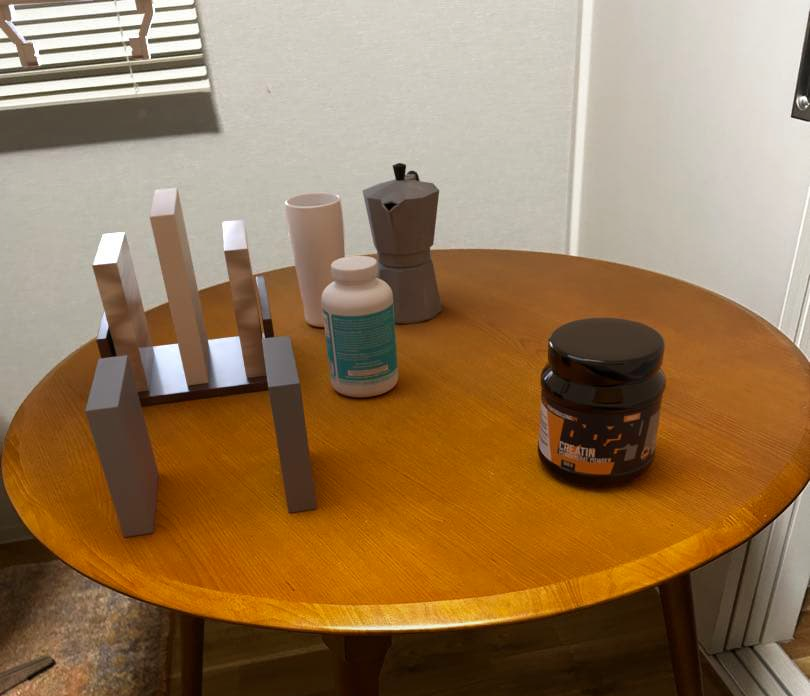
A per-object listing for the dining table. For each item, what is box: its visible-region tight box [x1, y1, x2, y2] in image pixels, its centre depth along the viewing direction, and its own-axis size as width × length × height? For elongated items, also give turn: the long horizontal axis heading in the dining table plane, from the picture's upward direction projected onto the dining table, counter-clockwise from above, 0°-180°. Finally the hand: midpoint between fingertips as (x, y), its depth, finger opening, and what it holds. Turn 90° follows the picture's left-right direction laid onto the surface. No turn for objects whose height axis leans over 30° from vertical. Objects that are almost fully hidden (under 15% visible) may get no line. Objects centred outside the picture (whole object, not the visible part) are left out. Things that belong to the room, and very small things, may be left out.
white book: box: [149, 187, 209, 385], centre depth 92 cm, size 2×11×18 cm, turn 11°
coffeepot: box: [362, 162, 443, 325], centre depth 105 cm, size 15×9×18 cm, turn 168°
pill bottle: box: [321, 255, 399, 398], centre depth 89 cm, size 8×7×14 cm
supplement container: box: [537, 317, 667, 488], centre depth 74 cm, size 10×10×12 cm
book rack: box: [91, 219, 275, 407], centre depth 93 cm, size 18×14×15 cm
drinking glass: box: [284, 191, 346, 328], centre depth 104 cm, size 7×7×15 cm
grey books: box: [84, 334, 318, 538], centre depth 73 cm, size 16×10×12 cm, turn 101°
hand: (87, 62), depth 75 cm, fingers open, 8 cm apart
